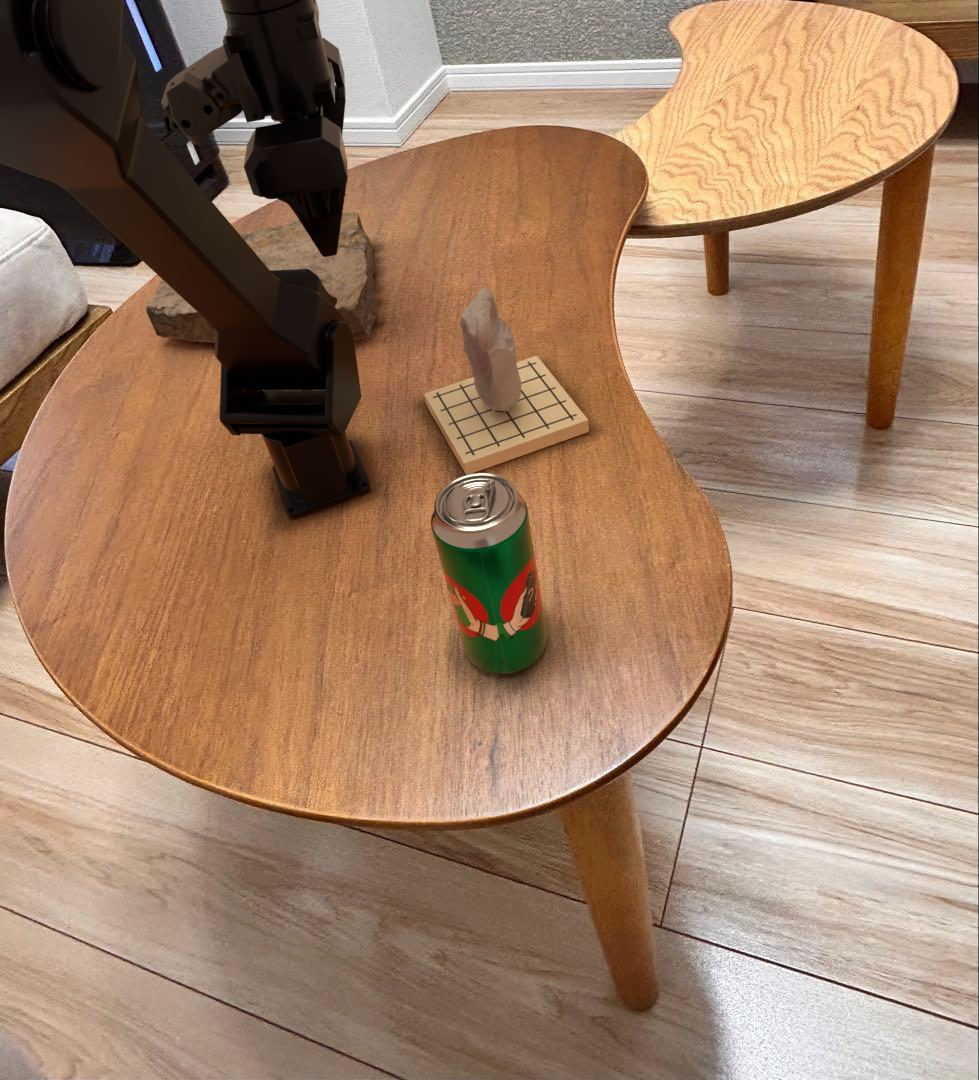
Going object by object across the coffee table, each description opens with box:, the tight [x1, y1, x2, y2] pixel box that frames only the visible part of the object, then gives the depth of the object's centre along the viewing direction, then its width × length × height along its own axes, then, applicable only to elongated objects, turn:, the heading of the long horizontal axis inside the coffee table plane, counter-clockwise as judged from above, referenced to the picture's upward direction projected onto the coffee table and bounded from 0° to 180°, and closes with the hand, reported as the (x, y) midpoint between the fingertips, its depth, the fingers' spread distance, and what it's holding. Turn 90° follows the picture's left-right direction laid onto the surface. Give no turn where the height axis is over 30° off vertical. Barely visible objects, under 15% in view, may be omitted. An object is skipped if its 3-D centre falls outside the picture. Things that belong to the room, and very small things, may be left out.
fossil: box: [459, 286, 521, 411], centre depth 64 cm, size 6×4×10 cm, turn 21°
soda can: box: [430, 472, 548, 675], centre depth 48 cm, size 5×5×12 cm
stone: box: [145, 211, 379, 344], centre depth 86 cm, size 21×19×4 cm
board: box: [423, 355, 590, 476], centre depth 68 cm, size 10×10×1 cm
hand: (330, 224), depth 67 cm, fingers open, 9 cm apart
